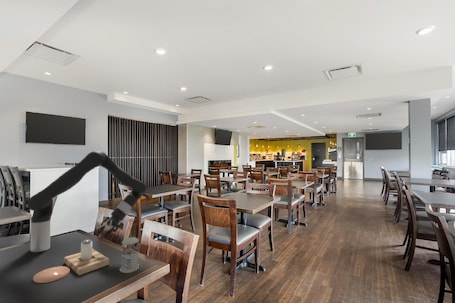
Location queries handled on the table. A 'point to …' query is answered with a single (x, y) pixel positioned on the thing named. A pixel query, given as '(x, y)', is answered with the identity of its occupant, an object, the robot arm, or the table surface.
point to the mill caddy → (86, 262)
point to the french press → (129, 254)
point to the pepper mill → (86, 250)
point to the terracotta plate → (51, 274)
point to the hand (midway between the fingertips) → (101, 235)
